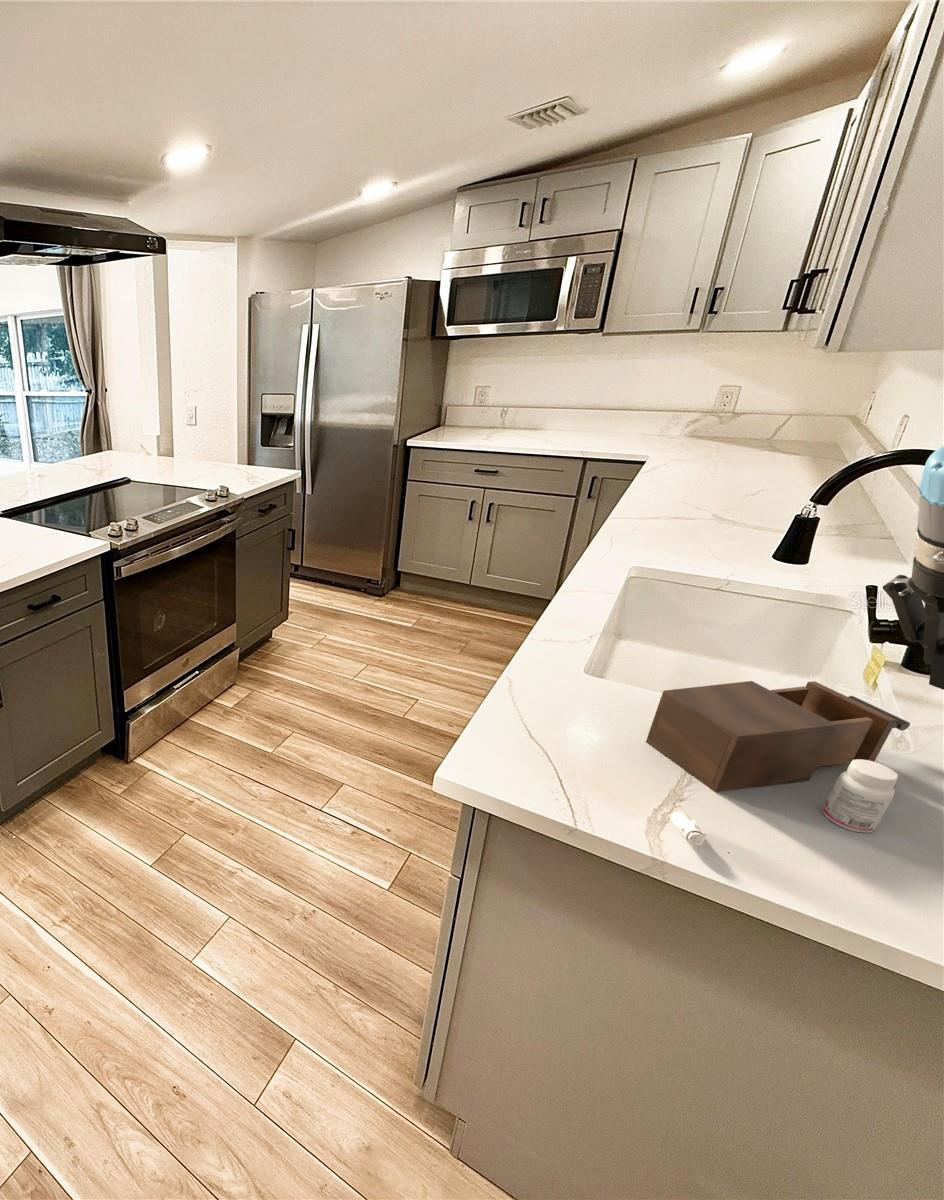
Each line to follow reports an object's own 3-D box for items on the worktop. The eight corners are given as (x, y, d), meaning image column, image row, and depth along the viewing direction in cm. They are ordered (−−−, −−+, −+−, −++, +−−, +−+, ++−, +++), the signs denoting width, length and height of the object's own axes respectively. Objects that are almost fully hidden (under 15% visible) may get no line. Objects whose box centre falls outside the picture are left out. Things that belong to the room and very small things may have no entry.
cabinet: (730, 731, 97) (751, 680, 94) (810, 780, 87) (837, 725, 83) (645, 741, 96) (663, 690, 93) (715, 792, 86) (738, 736, 82)
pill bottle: (833, 803, 83) (859, 753, 79) (882, 826, 79) (912, 775, 75) (813, 813, 81) (838, 763, 78) (862, 838, 77) (891, 786, 74)
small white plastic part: (706, 828, 80) (713, 810, 79) (699, 855, 76) (707, 836, 75) (671, 815, 83) (678, 797, 81) (662, 840, 79) (670, 821, 78)
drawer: (828, 718, 98) (848, 677, 94) (909, 760, 88) (934, 715, 85) (716, 731, 96) (733, 689, 93) (786, 775, 87) (808, 730, 84)
